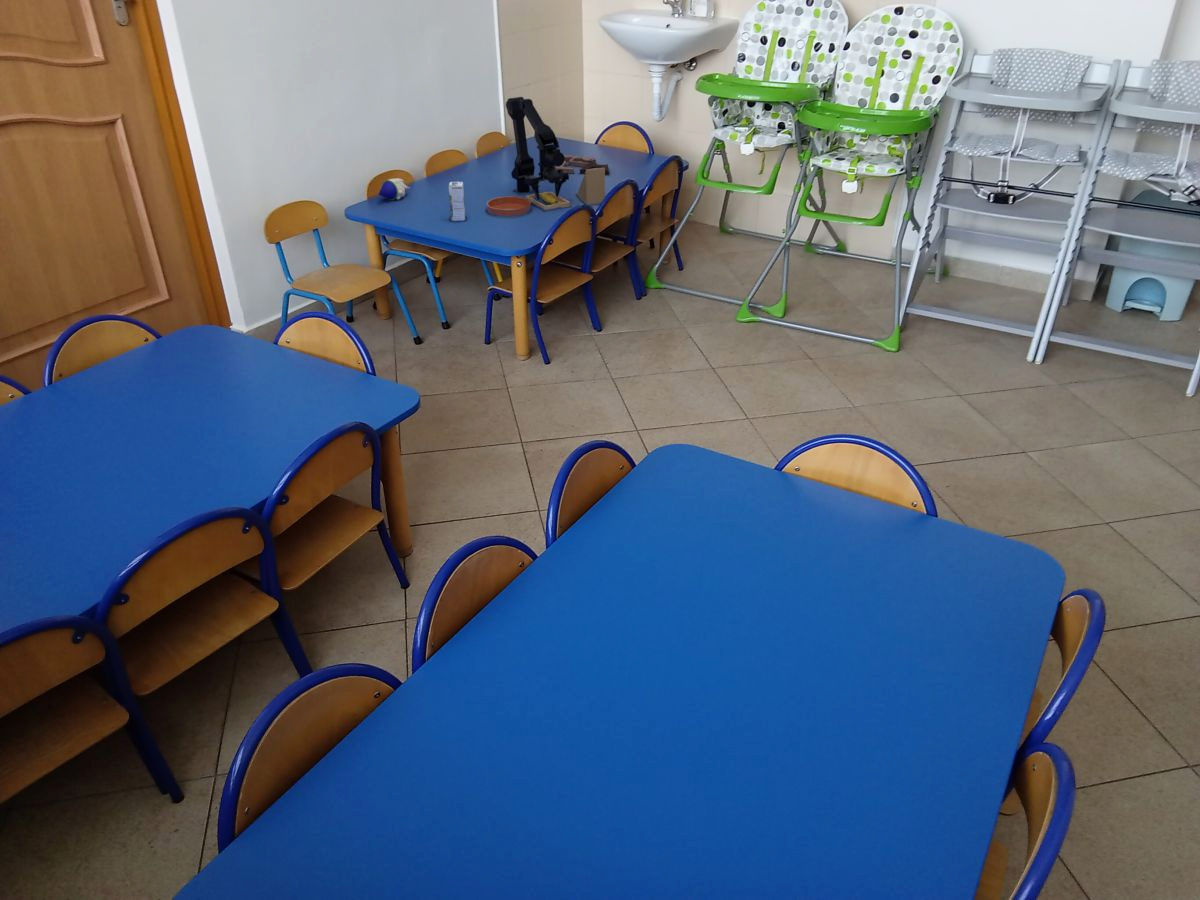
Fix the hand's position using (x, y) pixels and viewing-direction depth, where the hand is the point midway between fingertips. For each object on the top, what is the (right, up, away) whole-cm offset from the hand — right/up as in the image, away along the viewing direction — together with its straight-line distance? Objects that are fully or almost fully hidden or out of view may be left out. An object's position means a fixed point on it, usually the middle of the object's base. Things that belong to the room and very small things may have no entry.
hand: (547, 198), depth 383 cm
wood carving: (+15, +29, +49) cm, 59 cm away
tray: (0, -2, +1) cm, 2 cm away
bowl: (-16, -7, -7) cm, 19 cm away
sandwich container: (+18, +1, +7) cm, 20 cm away
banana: (0, -2, +1) cm, 2 cm away
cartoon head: (-68, +2, +8) cm, 68 cm away
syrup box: (-36, -13, -16) cm, 41 cm away
